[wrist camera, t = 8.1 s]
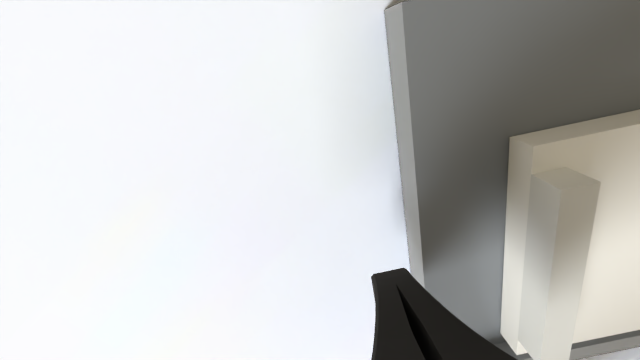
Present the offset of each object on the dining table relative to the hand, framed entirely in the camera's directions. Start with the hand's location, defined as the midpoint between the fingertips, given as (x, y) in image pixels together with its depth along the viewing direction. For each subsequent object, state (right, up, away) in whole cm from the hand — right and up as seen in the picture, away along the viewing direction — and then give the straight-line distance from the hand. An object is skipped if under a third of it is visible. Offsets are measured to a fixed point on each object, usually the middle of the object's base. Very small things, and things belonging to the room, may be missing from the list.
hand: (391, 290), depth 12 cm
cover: (+9, +2, +1) cm, 10 cm away
